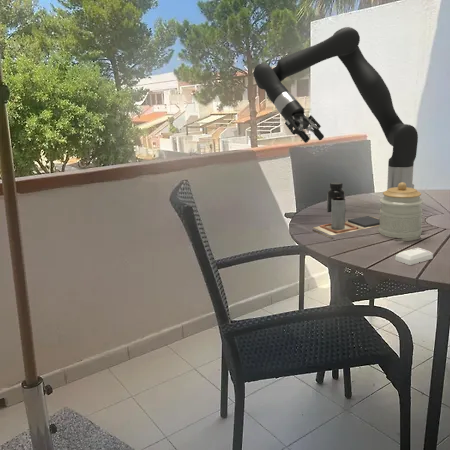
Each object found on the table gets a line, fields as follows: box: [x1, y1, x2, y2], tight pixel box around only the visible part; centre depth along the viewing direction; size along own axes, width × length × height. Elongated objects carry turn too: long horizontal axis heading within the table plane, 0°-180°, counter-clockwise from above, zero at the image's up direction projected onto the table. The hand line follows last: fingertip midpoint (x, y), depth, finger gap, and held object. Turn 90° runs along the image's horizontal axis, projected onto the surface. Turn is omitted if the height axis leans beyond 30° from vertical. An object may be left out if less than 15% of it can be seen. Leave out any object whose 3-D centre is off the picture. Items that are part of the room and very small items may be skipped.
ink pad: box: [347, 215, 380, 228], centre depth 154 cm, size 9×9×1 cm
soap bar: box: [394, 247, 434, 266], centre depth 121 cm, size 5×9×3 cm, turn 117°
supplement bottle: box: [326, 181, 346, 213], centre depth 173 cm, size 7×7×12 cm
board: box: [311, 216, 380, 240], centre depth 152 cm, size 26×11×2 cm, turn 113°
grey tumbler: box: [330, 197, 346, 230], centre depth 148 cm, size 4×4×10 cm
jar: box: [378, 182, 424, 242], centre depth 139 cm, size 13×13×18 cm
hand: (315, 139), depth 153 cm, fingers open, 8 cm apart
